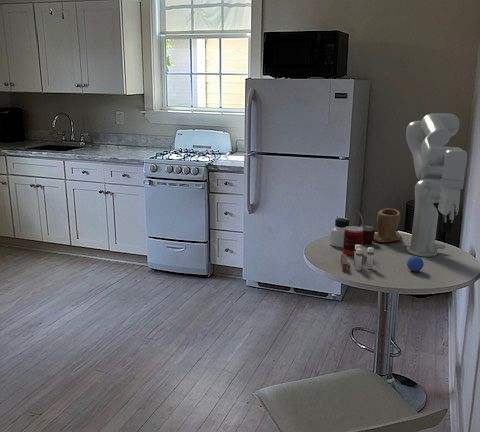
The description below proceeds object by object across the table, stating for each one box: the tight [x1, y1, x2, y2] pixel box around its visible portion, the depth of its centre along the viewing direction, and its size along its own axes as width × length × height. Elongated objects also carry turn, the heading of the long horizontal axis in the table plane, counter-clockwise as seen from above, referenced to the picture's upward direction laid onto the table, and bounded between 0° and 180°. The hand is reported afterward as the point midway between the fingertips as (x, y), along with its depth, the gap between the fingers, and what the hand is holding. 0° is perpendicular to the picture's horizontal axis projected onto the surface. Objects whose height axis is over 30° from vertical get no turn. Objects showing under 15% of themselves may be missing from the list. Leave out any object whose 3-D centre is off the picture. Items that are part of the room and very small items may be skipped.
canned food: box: [342, 225, 363, 257], centre depth 213 cm, size 8×8×11 cm
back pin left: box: [354, 248, 364, 271], centre depth 194 cm, size 2×2×8 cm
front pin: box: [365, 246, 375, 270], centre depth 196 cm, size 2×2×8 cm
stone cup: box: [373, 207, 403, 243], centre depth 232 cm, size 15×12×15 cm
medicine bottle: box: [329, 217, 350, 249], centre depth 224 cm, size 7×7×12 cm
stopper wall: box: [340, 253, 349, 273], centre depth 198 cm, size 2×12×3 cm, turn 173°
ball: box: [406, 255, 424, 273], centre depth 195 cm, size 6×6×6 cm
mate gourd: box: [356, 210, 376, 246], centre depth 227 cm, size 8×8×15 cm
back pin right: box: [353, 245, 361, 267], centre depth 199 cm, size 2×2×8 cm
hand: (445, 232), depth 190 cm, fingers closed
